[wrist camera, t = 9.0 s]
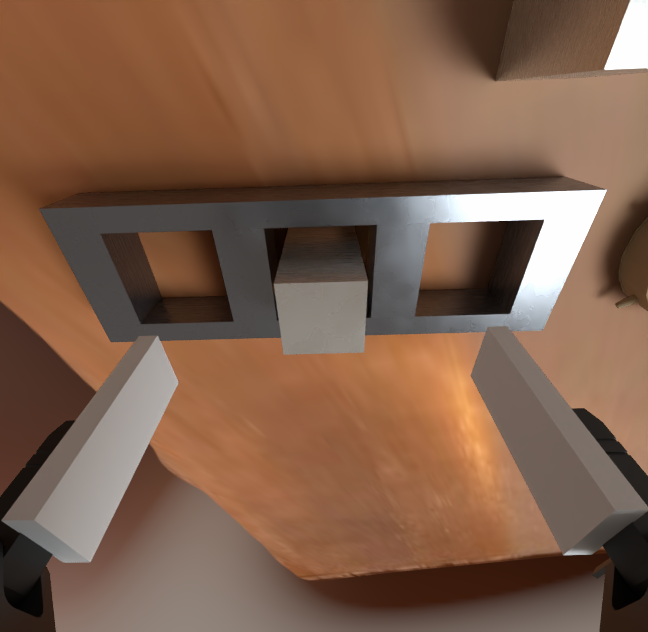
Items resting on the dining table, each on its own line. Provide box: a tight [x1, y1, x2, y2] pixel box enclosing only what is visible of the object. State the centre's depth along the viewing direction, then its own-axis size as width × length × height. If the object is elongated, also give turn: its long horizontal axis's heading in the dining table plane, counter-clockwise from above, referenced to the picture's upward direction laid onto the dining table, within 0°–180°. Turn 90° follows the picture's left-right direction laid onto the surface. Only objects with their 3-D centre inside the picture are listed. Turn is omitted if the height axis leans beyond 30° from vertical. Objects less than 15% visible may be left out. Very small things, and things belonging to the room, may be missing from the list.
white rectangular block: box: [496, 0, 648, 81], centre depth 12 cm, size 4×4×8 cm
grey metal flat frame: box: [39, 177, 607, 342], centre depth 21 cm, size 10×31×4 cm, turn 92°
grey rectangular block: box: [274, 225, 368, 354], centre depth 20 cm, size 4×4×8 cm
